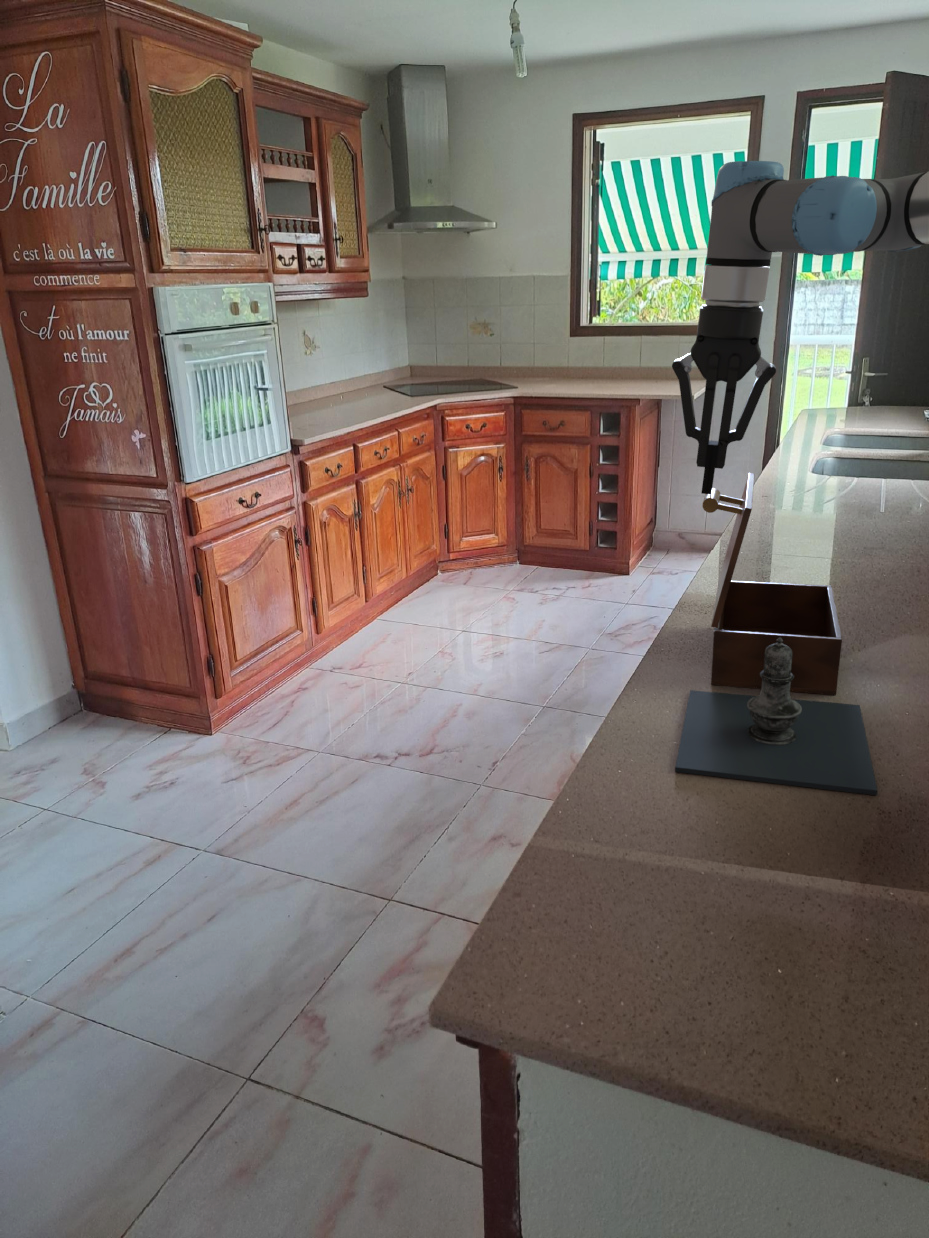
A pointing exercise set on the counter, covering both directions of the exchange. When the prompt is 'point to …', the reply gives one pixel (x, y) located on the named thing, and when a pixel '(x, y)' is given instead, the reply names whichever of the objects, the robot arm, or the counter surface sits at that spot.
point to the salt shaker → (774, 699)
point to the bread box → (778, 635)
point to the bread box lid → (735, 541)
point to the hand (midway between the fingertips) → (706, 491)
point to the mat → (815, 759)
